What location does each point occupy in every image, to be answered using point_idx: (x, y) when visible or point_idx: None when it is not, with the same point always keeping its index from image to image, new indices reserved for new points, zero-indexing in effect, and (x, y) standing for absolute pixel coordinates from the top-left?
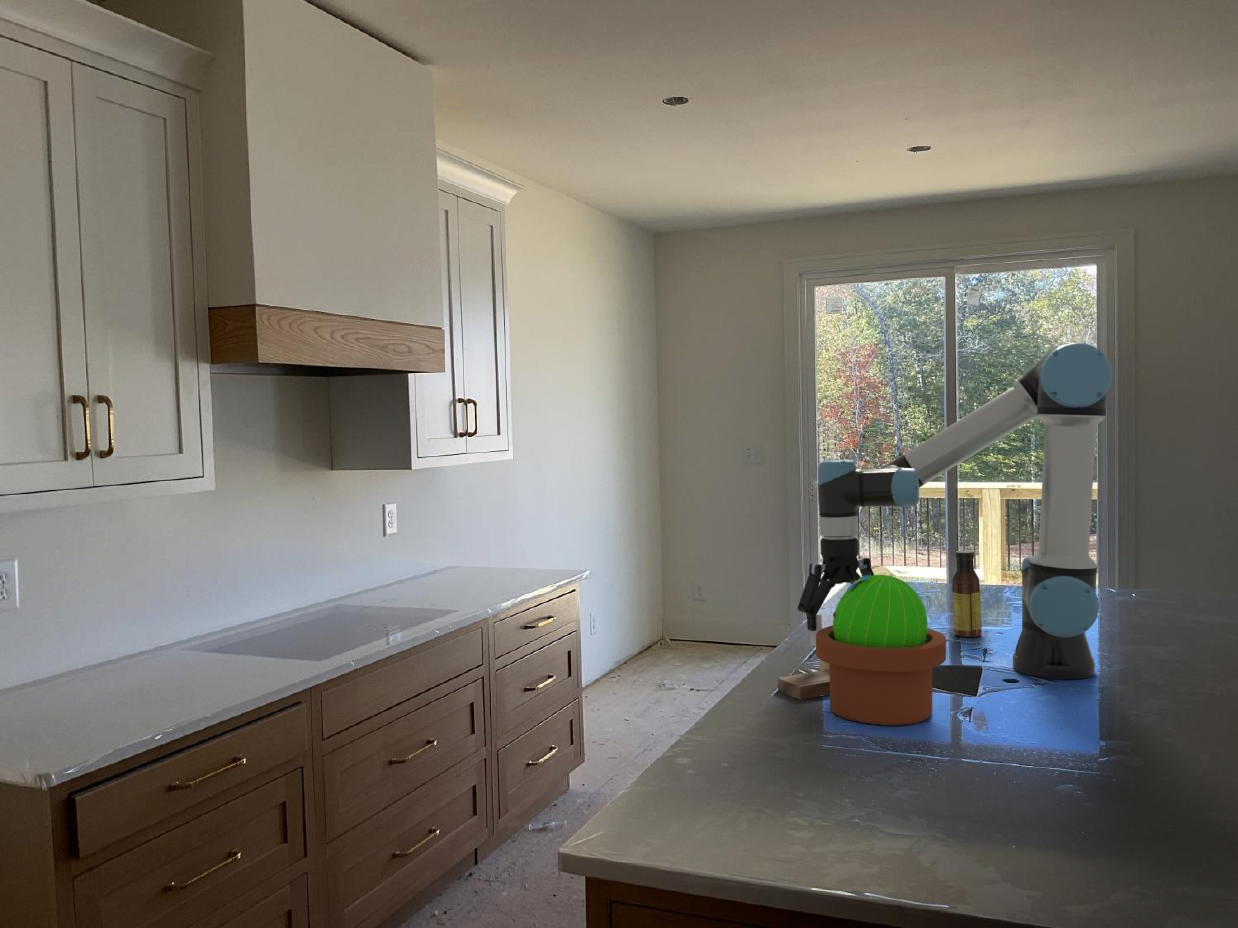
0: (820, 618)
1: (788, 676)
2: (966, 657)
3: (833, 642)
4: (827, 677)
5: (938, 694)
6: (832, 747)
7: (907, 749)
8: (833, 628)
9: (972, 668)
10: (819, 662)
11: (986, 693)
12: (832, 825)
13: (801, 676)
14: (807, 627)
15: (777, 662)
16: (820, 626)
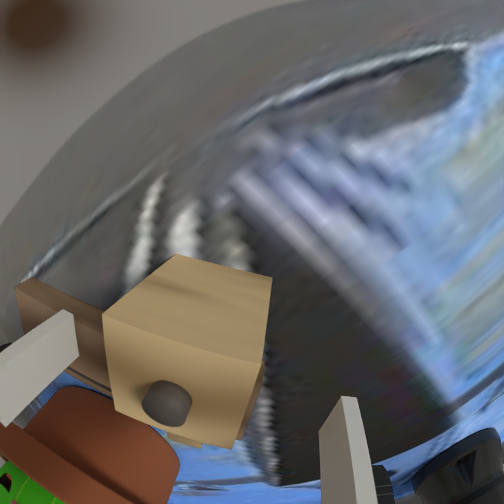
0: (12, 416)
1: (29, 297)
2: (500, 381)
3: (3, 459)
4: (83, 366)
5: (245, 468)
6: (34, 411)
7: None
8: (2, 467)
9: (436, 429)
10: (162, 265)
11: (300, 488)
12: (15, 424)
13: (46, 319)
14: (2, 346)
15: (177, 71)
16: (30, 396)
